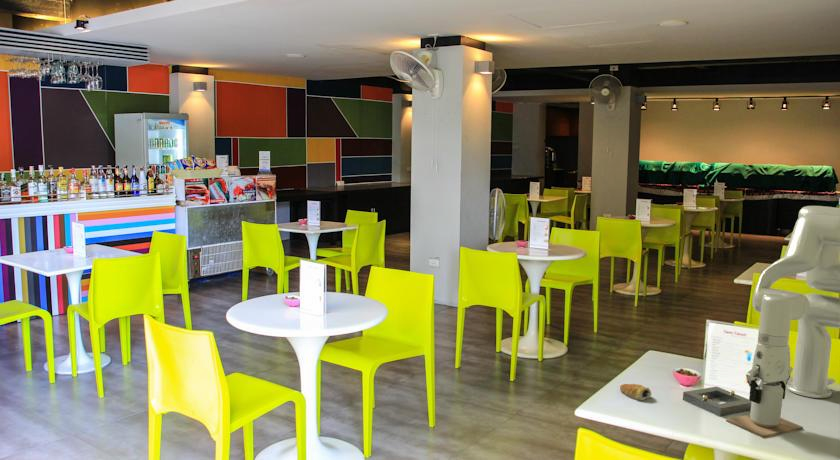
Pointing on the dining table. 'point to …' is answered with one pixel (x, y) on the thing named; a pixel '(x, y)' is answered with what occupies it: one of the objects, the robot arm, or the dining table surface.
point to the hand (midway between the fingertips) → (766, 399)
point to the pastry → (635, 391)
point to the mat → (762, 431)
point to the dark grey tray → (703, 401)
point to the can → (768, 405)
